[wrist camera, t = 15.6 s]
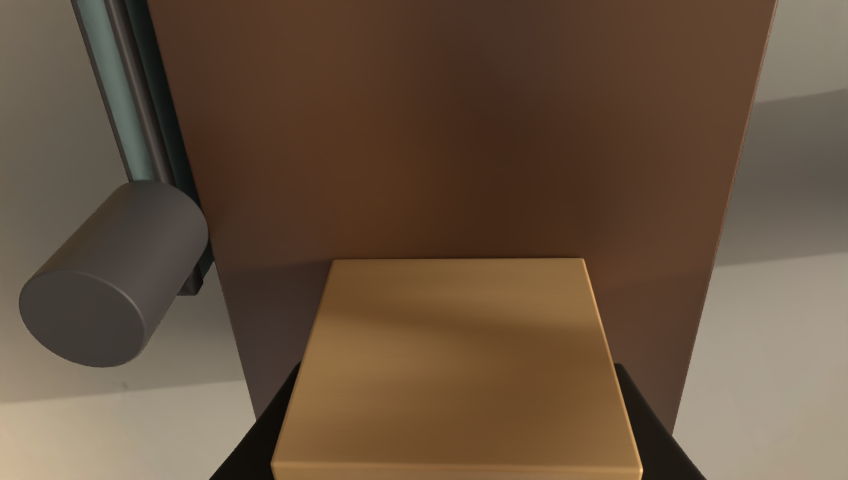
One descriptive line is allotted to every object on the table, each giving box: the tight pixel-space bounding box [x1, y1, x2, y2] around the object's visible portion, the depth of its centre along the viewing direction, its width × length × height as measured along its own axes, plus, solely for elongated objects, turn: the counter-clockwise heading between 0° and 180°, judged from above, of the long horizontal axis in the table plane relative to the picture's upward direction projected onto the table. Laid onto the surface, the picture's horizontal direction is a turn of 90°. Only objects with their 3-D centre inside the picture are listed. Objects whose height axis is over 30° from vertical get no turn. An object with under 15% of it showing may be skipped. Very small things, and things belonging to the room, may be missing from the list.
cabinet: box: [146, 0, 778, 435], centre depth 16 cm, size 12×16×7 cm
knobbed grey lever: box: [19, 0, 214, 367], centre depth 13 cm, size 2×8×9 cm, turn 2°
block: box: [271, 258, 643, 480], centre depth 12 cm, size 5×5×5 cm
